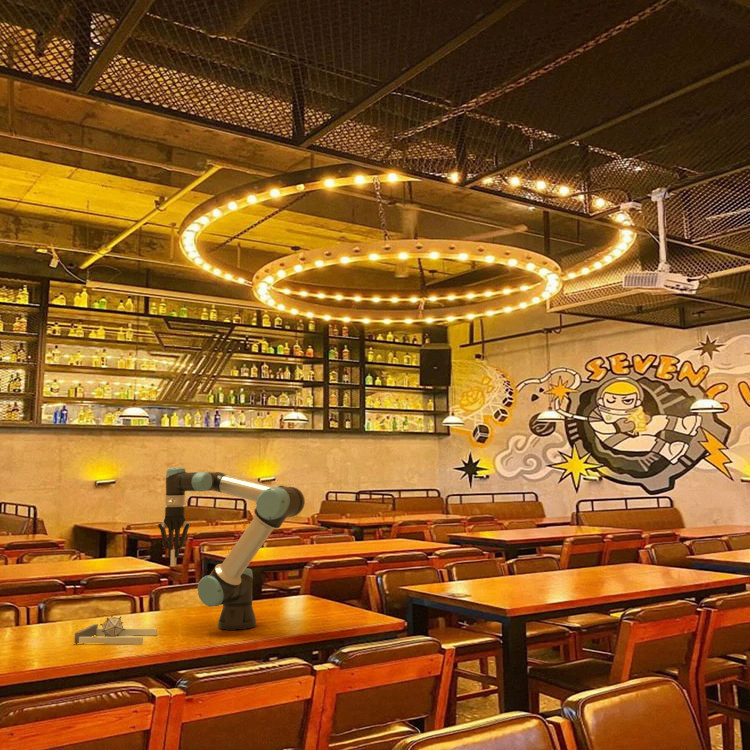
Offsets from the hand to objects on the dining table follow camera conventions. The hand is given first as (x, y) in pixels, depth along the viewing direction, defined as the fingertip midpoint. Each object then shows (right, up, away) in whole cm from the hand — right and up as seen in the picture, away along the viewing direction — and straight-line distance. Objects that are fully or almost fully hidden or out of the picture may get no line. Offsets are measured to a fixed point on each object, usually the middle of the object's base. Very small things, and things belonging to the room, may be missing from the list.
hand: (173, 565), depth 296 cm
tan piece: (-15, -22, -21) cm, 34 cm away
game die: (-15, -21, -19) cm, 32 cm away
